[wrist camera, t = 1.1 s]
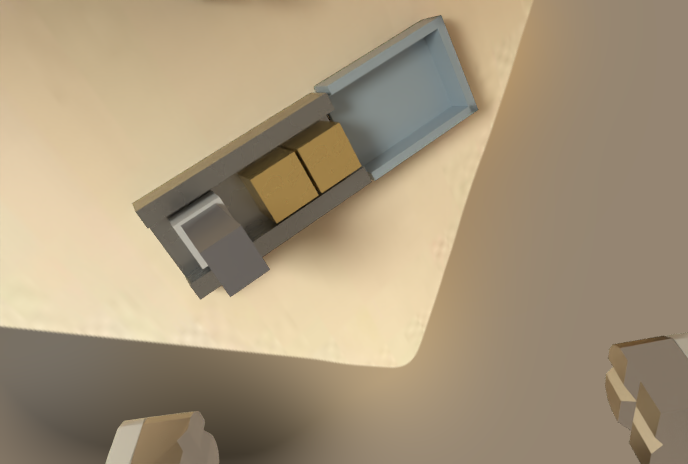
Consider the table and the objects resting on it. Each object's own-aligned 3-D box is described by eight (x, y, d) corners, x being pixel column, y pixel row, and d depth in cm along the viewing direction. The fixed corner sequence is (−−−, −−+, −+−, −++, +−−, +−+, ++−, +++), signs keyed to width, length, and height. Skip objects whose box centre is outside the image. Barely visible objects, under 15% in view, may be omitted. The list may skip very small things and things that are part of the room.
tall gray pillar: (167, 218, 42) (190, 254, 33) (211, 190, 43) (246, 217, 34) (196, 258, 44) (225, 304, 34) (237, 231, 45) (278, 268, 35)
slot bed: (132, 203, 42) (135, 211, 39) (310, 92, 46) (326, 92, 43) (193, 285, 46) (200, 299, 42) (354, 176, 49) (371, 181, 46)
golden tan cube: (237, 173, 44) (250, 180, 40) (278, 147, 45) (294, 151, 41) (262, 213, 46) (276, 223, 42) (301, 187, 47) (318, 195, 43)
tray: (313, 86, 46) (327, 85, 43) (422, 19, 49) (441, 15, 46) (360, 176, 50) (375, 180, 47) (458, 109, 52) (478, 109, 50)
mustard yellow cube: (281, 145, 45) (297, 149, 41) (320, 120, 46) (339, 122, 42) (304, 185, 47) (321, 193, 43) (341, 160, 48) (361, 166, 44)
